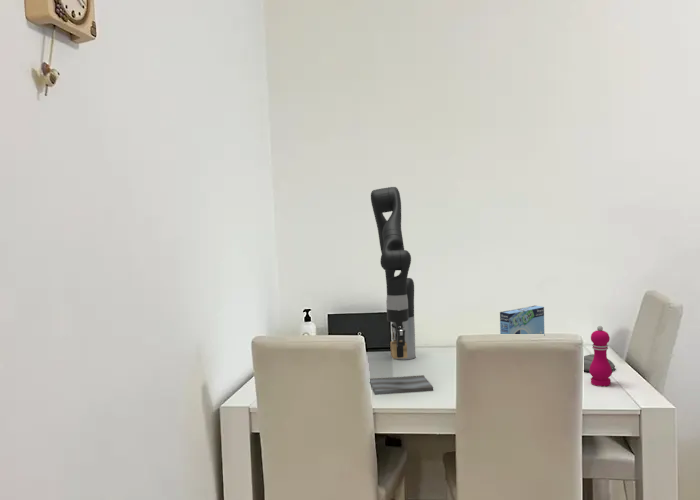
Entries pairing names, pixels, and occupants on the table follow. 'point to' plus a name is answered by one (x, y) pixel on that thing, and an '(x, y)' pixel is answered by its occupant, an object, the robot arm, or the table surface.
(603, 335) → the pepper mill
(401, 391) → the slate board
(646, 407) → the table surface
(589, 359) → the grey round bowl
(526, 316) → the gum box
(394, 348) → the oak cube
